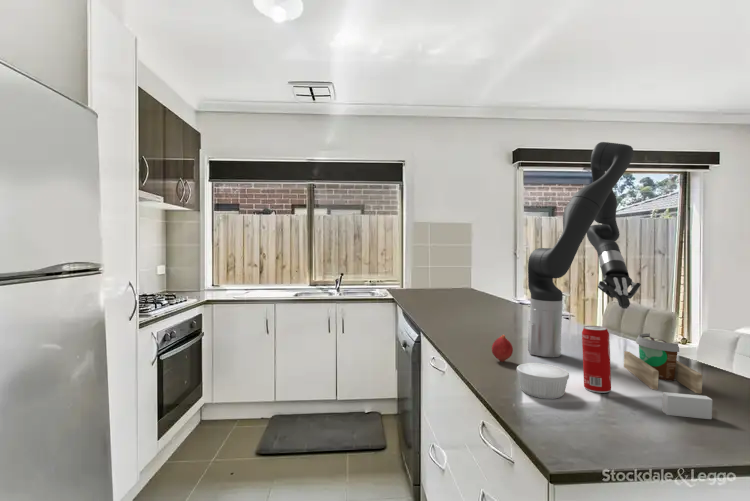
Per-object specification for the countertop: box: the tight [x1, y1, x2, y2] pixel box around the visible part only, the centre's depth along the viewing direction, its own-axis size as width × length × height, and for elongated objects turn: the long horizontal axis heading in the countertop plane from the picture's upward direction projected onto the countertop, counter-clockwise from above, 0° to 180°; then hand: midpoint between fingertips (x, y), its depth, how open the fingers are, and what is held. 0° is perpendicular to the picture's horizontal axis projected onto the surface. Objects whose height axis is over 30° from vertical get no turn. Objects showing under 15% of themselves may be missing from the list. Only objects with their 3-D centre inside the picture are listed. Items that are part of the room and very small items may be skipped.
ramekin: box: [516, 362, 570, 400], centre depth 95 cm, size 11×11×5 cm
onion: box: [491, 334, 514, 363], centre depth 118 cm, size 6×6×8 cm
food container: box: [635, 332, 680, 382], centre depth 110 cm, size 12×6×10 cm, turn 178°
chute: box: [623, 350, 703, 395], centre depth 106 cm, size 10×18×4 cm, turn 168°
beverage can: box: [581, 325, 612, 394], centre depth 97 cm, size 6×6×15 cm
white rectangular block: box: [661, 391, 713, 420], centre depth 84 cm, size 8×2×4 cm, turn 78°
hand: (625, 307), depth 129 cm, fingers closed
